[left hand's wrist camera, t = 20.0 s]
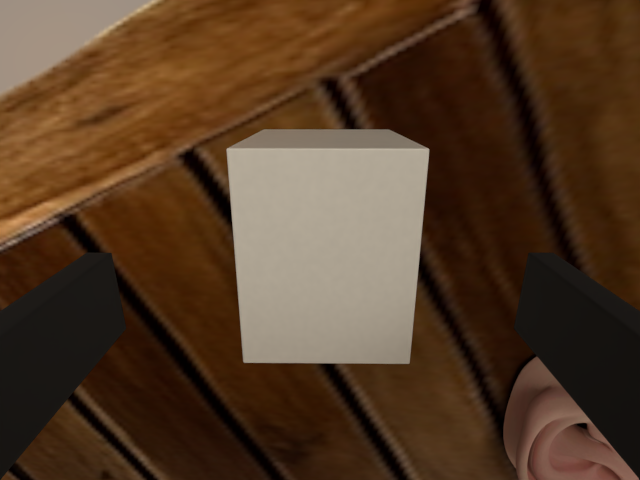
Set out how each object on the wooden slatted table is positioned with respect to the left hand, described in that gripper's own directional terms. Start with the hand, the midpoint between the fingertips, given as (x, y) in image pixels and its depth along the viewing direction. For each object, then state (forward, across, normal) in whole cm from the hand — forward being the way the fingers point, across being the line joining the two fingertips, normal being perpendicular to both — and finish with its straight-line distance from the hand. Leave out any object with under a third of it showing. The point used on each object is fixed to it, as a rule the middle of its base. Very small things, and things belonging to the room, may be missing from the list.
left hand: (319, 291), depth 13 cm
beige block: (+11, 0, 0) cm, 11 cm away
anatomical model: (+10, +18, -14) cm, 25 cm away
